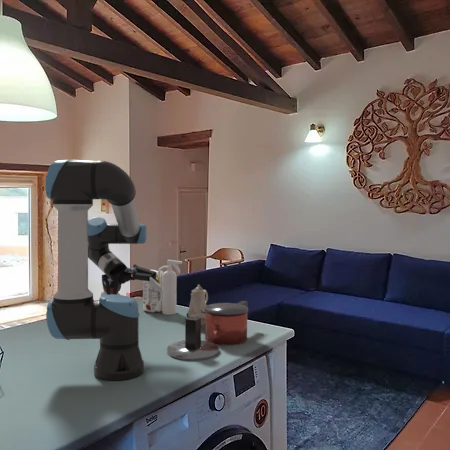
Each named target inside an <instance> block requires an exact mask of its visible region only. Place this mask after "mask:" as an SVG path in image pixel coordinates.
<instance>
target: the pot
mask: <svg viewBox="0 0 450 450" xmlns="http://www.w3.org/2000/svg"><path fill="white" fill-rule="evenodd" d="M248 302H249V301H247V300H241V301H239V302H237V303H233V302H217V303H211V304H206V305H207V306H205V311H206V317H205V326H204V328H205V329H204V330H205V333H204V336H205V339H204V340H205V341H208V342H212V343H215V344H216V345H217V346H220V345H221V346H235V345H241V344H244V343H246V342H247V341H248V312H249V307H248V305H249V304H248ZM246 340H247V341H246ZM245 341H246V342H245ZM243 342H244V343H243Z"/></svg>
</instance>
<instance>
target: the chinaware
mask: <svg viewBox="0 0 450 450" xmlns="http://www.w3.org/2000/svg"><path fill="white" fill-rule="evenodd" d="M196 286H197V287H195V288H194V289H192V290H190V291H191V292H190V302H189V307H188V310H187V313H186V319H187V318H189V317H198V318H201V330H202V329H204V328H205V317H206V311H205V306H207V305H208V304H207V303H208V300H209V293H208V291H207V290H206V289H203V287H201V284H197V285H196Z"/></svg>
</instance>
